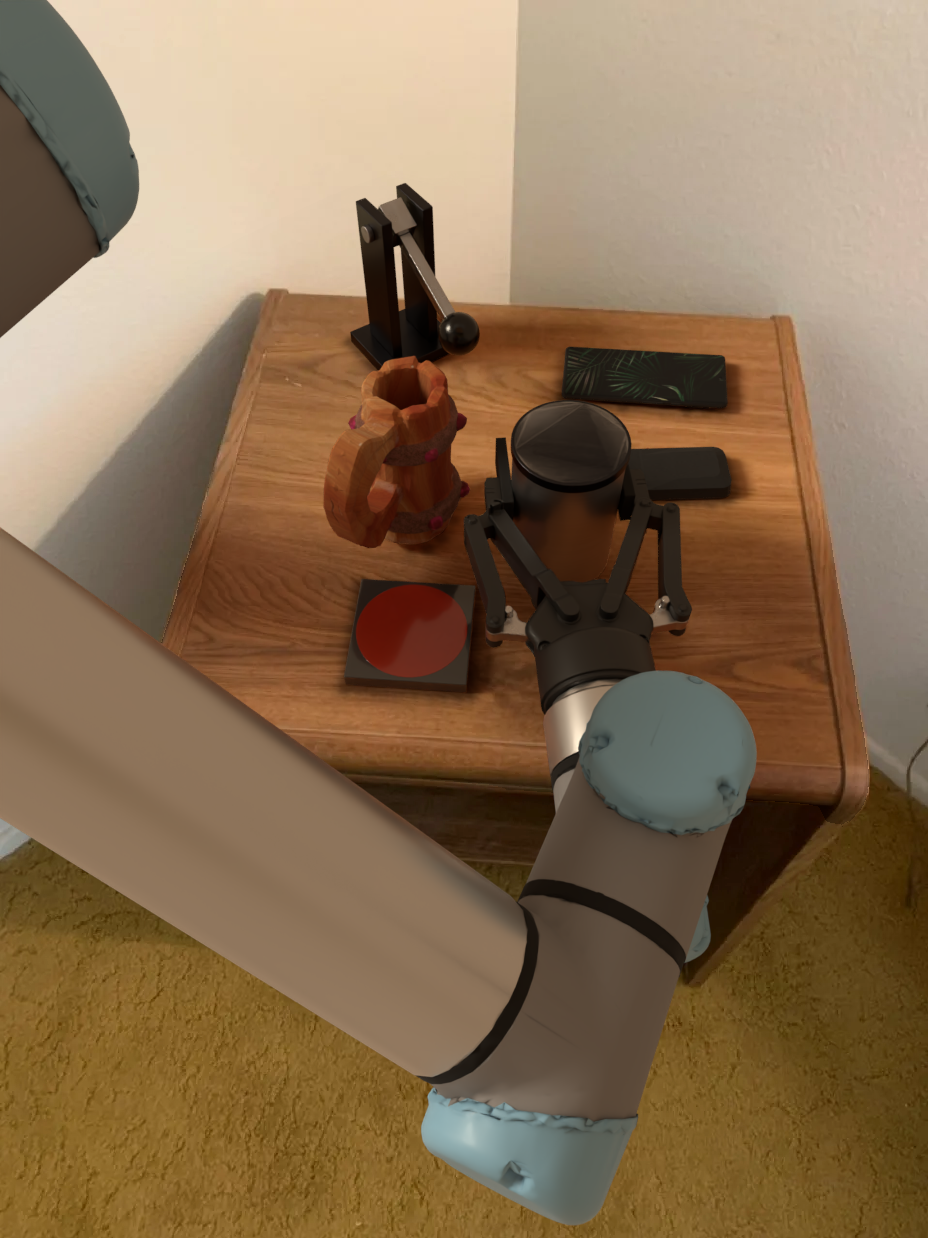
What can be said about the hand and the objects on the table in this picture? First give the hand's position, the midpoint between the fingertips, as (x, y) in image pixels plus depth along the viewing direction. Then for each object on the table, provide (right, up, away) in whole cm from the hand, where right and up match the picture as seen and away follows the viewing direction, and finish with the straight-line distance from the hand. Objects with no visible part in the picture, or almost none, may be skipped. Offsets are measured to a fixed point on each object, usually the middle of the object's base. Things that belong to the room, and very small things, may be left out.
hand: (557, 447), depth 71 cm
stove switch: (-13, +13, +19) cm, 27 cm away
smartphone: (+10, +9, +16) cm, 21 cm away
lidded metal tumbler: (0, -8, +3) cm, 8 cm away
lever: (-11, +16, +10) cm, 21 cm away
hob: (-11, -15, 0) cm, 18 cm away
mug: (-12, -7, +6) cm, 15 cm away
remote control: (+8, -1, +9) cm, 12 cm away
